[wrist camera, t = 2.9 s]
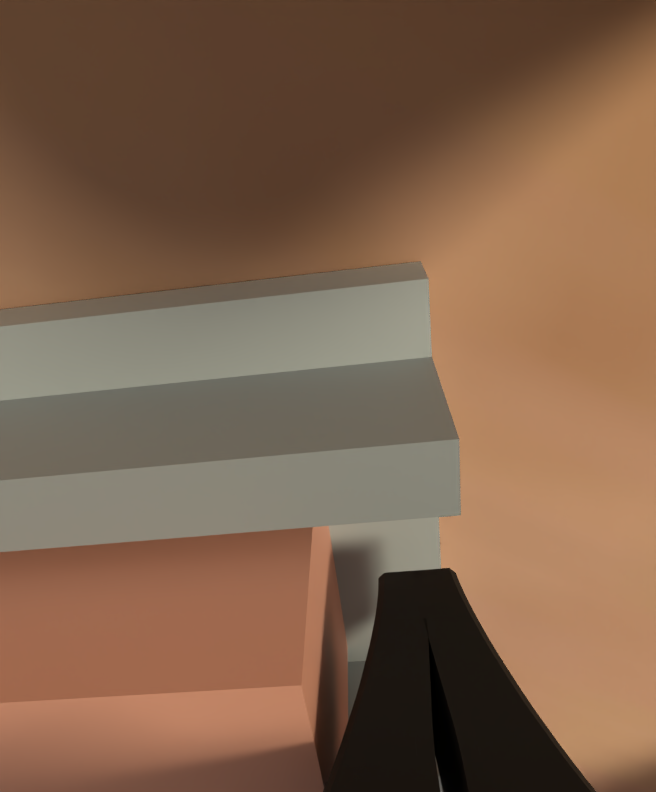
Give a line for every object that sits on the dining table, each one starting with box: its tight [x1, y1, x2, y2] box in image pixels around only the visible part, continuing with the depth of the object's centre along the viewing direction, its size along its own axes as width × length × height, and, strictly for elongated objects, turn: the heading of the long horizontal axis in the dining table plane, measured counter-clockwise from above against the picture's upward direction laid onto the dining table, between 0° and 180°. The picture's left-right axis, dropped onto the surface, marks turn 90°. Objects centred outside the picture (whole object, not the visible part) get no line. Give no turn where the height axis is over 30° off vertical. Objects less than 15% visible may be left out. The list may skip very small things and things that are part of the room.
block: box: [0, 526, 348, 792], centre depth 10 cm, size 5×6×4 cm
